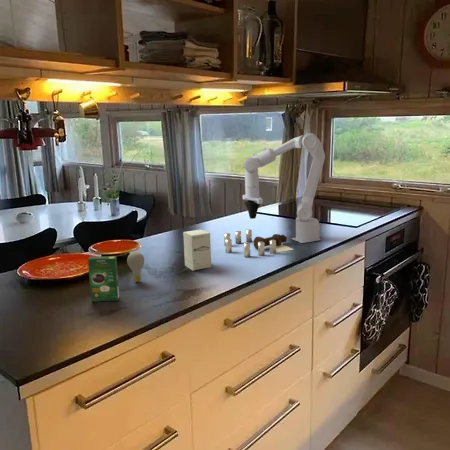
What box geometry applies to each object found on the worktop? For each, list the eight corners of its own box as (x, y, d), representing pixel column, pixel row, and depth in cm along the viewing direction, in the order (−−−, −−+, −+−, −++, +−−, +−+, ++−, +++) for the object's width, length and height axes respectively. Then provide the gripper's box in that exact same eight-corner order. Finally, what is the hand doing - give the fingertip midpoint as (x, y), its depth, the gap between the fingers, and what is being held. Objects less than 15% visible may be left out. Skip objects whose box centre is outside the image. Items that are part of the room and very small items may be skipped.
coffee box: (120, 297, 136) (117, 254, 133) (119, 301, 133) (115, 257, 130) (93, 298, 135) (88, 256, 132) (91, 302, 132) (86, 259, 130)
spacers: (250, 240, 195) (250, 229, 193) (277, 253, 175) (277, 240, 173) (214, 246, 188) (214, 234, 187) (238, 259, 168) (238, 246, 167)
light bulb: (131, 279, 151) (128, 250, 149) (147, 278, 151) (145, 249, 149) (127, 284, 146) (124, 254, 144) (144, 284, 146) (141, 254, 144)
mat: (268, 238, 197) (268, 238, 197) (294, 249, 179) (294, 249, 179) (254, 240, 194) (254, 240, 194) (278, 252, 176) (278, 252, 176)
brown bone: (285, 247, 188) (258, 253, 179) (278, 239, 191) (251, 245, 182) (291, 236, 185) (264, 242, 176) (283, 228, 188) (256, 234, 179)
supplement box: (192, 271, 157) (190, 235, 154) (184, 265, 164) (182, 231, 161) (212, 267, 160) (210, 232, 158) (203, 262, 167) (201, 228, 164)
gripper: (235, 185, 196) (236, 216, 199) (251, 189, 183) (252, 222, 186) (250, 183, 199) (251, 214, 202) (267, 187, 186) (267, 220, 189)
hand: (252, 218), depth 194 cm, fingers closed
